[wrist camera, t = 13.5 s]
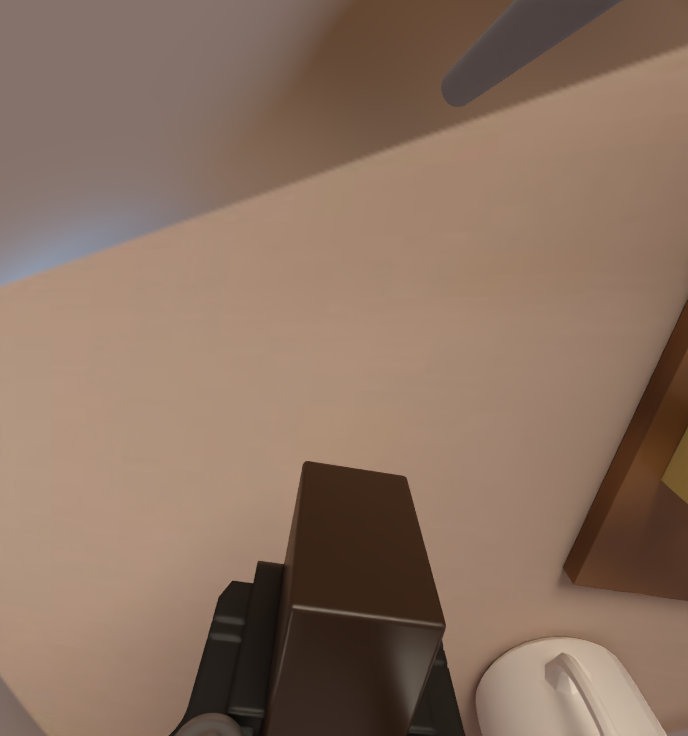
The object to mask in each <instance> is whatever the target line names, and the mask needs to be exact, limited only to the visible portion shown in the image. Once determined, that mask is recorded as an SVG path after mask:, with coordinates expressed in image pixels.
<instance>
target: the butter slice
mask: <svg viewBox="0 0 688 736" xmlns="http://www.w3.org/2000/svg"><path fill="white" fill-rule="evenodd" d="M661 481H662V482H663V483H664V484H666V485H667V486H668V487H669V488H670V489H671V490H672V491H673V492H675V493H676V494H677V495H678V496H679V497H680V498H681V499H683V500H684V501H685V502H686V503H687V504H688V427H687V429H686V431H685V433H684V435H683V437H682V439H681V441H680V443H679V445H678V447H677V449H676V451H675V453H674V455H673V456H672V458H671V460H670V462H669V464H668V466H667V468H666V470H665V472H664V474H663V476H662V478H661Z"/></svg>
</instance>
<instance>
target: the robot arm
mask: <svg viewBox="0 0 688 736" xmlns="http://www.w3.org/2000/svg"><path fill="white" fill-rule="evenodd" d="M283 572H284V564H279V563H272V562H264V561H258V563H257V568H256V573H255V578H254V583H246V582H239V581H232V582H231V583H230V584H229V585H228V587H227V588H226V589H225V590H224V591H223V593H222V594H221V595H220V596H219V598H218V602H217V605H216V609H215V613H214V616H213V620H212V623H211V627H210V630H209V634H208V638H207V641H206V644H205V648H204V652H203V655H202V659H201V662H200V666H199V669H198V673H197V676H196V680H195V683H194V687H193V691H192V694H191V698H190V701H189V705H188V708H187V710H186V713H185V715H184V717H183V719H182V721H181V722H180V723H179V725H178V726H177V728H176V729H175V730H174V731H173V732H172V733H171V734H170V735H169V736H261V732H262V727H263V722H264V717H265V710H266V703H267V695H268V687H269V680H270V672H271V664H272V656H273V649H274V641H275V633H276V626H277V618H278V610H279V603H280V595H281V587H282V580H283ZM407 736H465V733H464V729H463V725H462V721H461V717H460V713H459V709H458V705H457V701H456V697H455V692H454V688H453V684H452V680H451V676H450V672H449V668H447V660H446V656H445V652H444V650H443V643H442V640H441V643H440V646H439V649H438V652H437V654H436V657H435V660H434V663H433V665H432V668H431V671H430V674H429V676H428V679H427V682H426V685H425V688H424V690H423V693H422V696H421V699H420V701H419V704H418V707H417V710H416V713H415V715H414V718H413V721H412V724H411V726H410V729H409V732H408V735H407Z"/></svg>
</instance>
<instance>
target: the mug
mask: <svg viewBox="0 0 688 736" xmlns="http://www.w3.org/2000/svg"><path fill="white" fill-rule="evenodd" d="M476 710H477V715H478V721H479V725H480V728H481V732H482V736H667V735H666V733H665V731H664V730H663V728H662V726H661V725H660V723H659V722H658V720H657V718H656V717H655V715H654V713H653V712H652V710H651V709H650V707H649V705H648V704H647V702H646V700H645V699H644V697H643V696H642V694H641V692H640V691H639V689H638V687H637V686H636V684H635V683H634V681H633V679H632V678H631V676H630V675H629V673H628V672H627V670H626V669H625V668H624V666H623V665H622V664H621V662H620V661H619V660H618V658H617V657H616V656H615V655H614V654H612V653H611V652H610V651H608V650H607V649H606V648H604V647H603V646H600V645H597V644H595V643H592V642H589V641H586V640H583V639H578V638H571V637H563V636H560V637H545V638H540V639H536V640H532V641H528V642H525V643H523V644H521V645H519V646H516V647H514V648H512V649H510V650H508V651H507V652H506V653H504V654H503V655H502V656H500V657H499V658H498V659H496V660H495V661H494V663H493V664H492V665H491V666H490V667H489V669H488V670H487V671H486V672H485V674H484V675H483V677H482V679H481V681H480V683H479V685H478V688H477V690H476Z"/></svg>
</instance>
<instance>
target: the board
mask: <svg viewBox="0 0 688 736" xmlns="http://www.w3.org/2000/svg"><path fill="white" fill-rule="evenodd" d="M687 427H688V301H687V304H686V306H685V308H684V310H683V312H682V314H681V316H680V319H679V321H678V323H677V325H676V327H675V329H674V331H673V334H672V336H671V338H670V340H669V342H668V344H667V346H666V349H665V351H664V353H663V355H662V357H661V359H660V361H659V364H658V366H657V368H656V370H655V372H654V374H653V376H652V379H651V381H650V383H649V385H648V387H647V389H646V391H645V394H644V396H643V398H642V400H641V402H640V404H639V406H638V409H637V411H636V413H635V415H634V417H633V419H632V421H631V424H630V426H629V428H628V430H627V432H626V434H625V436H624V439H623V441H622V443H621V445H620V447H619V449H618V451H617V454H616V456H615V458H614V460H613V462H612V464H611V467H610V469H609V471H608V473H607V475H606V477H605V479H604V482H603V484H602V486H601V488H600V490H599V492H598V494H597V497H596V499H595V501H594V503H593V505H592V507H591V509H590V512H589V514H588V516H587V518H586V520H585V522H584V524H583V527H582V529H581V531H580V533H579V535H578V537H577V539H576V542H575V544H574V546H573V548H572V550H571V552H570V554H569V557H568V559H567V561H566V563H565V565H564V567H563V568H564V570H565V572H566V573H567V575H568V577H569V578H570V580H571V581H572V583H573V584H574V585H580V586H587V587H594V588H601V589H608V590H615V591H622V592H629V593H636V594H643V595H650V596H657V597H664V598H671V599H678V600H685V601H688V504H687V503H686V502H685V501H684V500H683V499H681V498H680V497H679V496H678V495H677V494H676V493H675V492H673V491H672V490H671V489H670V488H669V487H668V486H667V485H666V484H664V483H663V482H662V481H661V478H662V476H663V474H664V472H665V470H666V468H667V466H668V464H669V462H670V460H671V458H672V456H673V455H674V453H675V451H676V449H677V447H678V445H679V443H680V441H681V439H682V437H683V435H684V433H685V431H686V429H687Z"/></svg>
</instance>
